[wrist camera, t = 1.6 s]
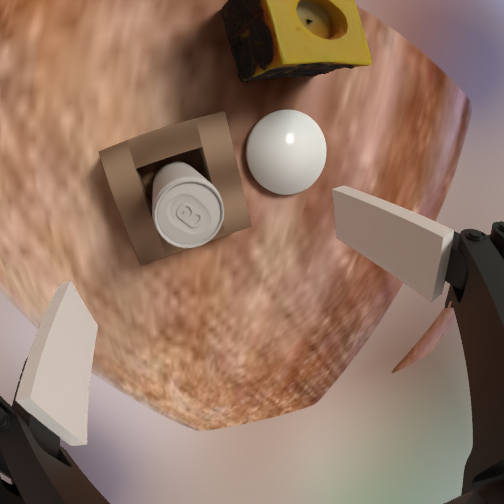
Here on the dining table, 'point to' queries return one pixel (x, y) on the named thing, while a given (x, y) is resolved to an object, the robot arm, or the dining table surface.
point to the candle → (294, 37)
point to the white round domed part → (286, 152)
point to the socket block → (163, 146)
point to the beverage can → (185, 206)
